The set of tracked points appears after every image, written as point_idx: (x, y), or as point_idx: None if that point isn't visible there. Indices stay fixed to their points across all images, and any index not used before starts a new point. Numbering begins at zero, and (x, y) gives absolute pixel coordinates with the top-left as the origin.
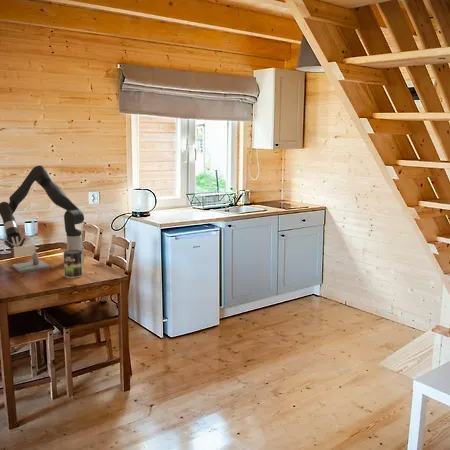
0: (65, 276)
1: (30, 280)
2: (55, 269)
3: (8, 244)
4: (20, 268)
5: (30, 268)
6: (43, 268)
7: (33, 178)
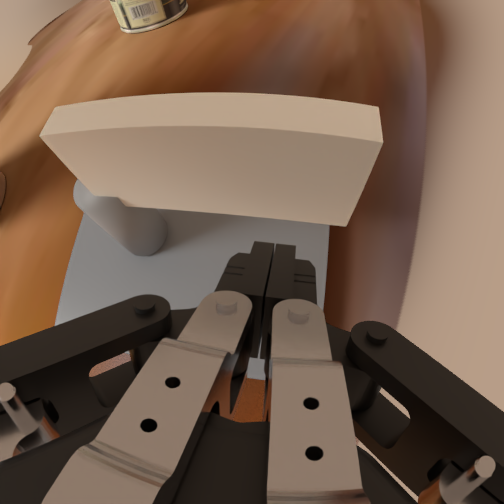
0: (186, 7)
1: (319, 24)
2: None
3: (452, 380)
4: None
5: None
6: None
7: None
